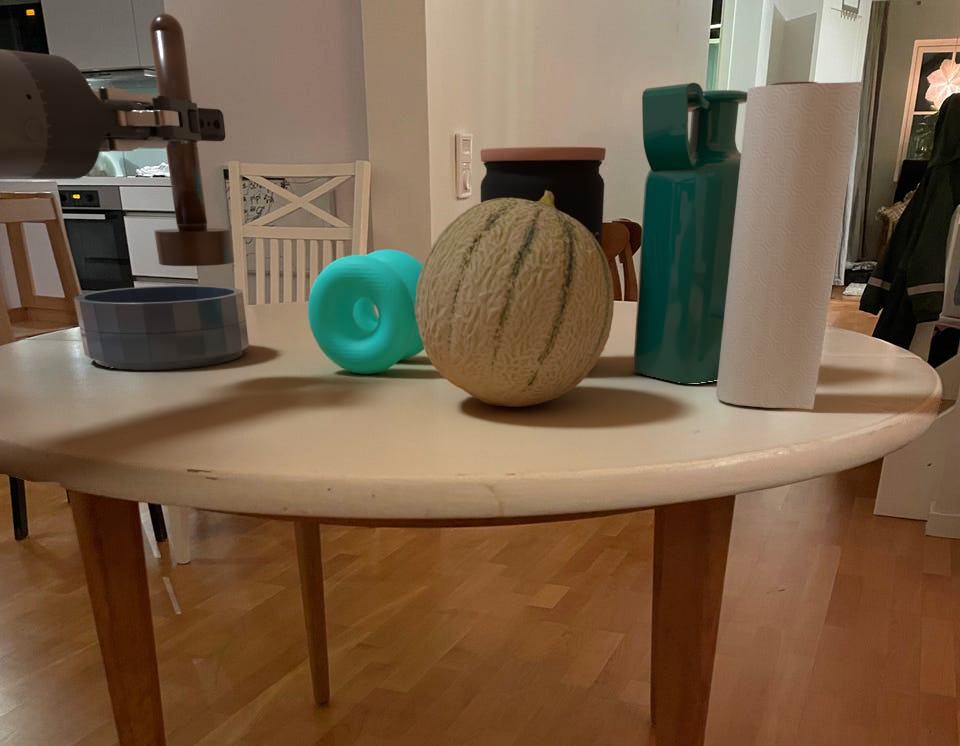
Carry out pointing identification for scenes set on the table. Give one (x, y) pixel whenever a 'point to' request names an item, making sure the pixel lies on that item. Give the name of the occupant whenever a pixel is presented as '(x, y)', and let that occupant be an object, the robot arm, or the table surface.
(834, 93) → the paper towel roll
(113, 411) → the table surface
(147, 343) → the bowl
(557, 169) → the coffee jar
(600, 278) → the cantaloupe
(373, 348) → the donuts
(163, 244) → the wooden masher
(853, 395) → the table surface
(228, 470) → the table surface
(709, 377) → the pitcher
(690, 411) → the table surface
